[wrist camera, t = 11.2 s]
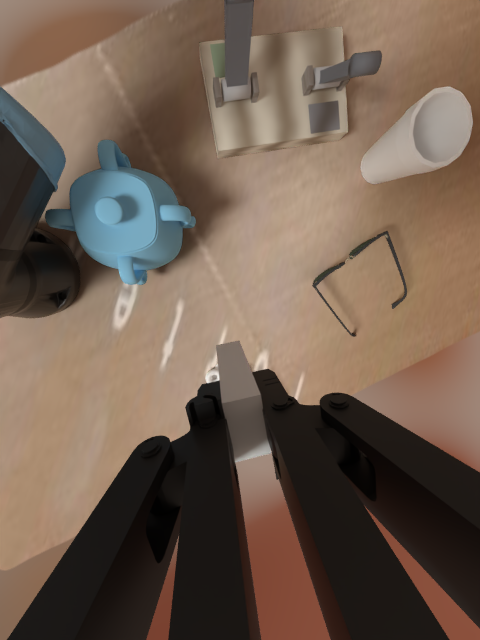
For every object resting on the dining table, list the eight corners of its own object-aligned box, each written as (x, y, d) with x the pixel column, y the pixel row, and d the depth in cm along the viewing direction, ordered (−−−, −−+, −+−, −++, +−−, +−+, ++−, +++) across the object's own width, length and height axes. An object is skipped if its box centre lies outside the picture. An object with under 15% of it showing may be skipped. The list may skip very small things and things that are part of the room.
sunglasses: (342, 344, 53) (355, 352, 48) (302, 281, 49) (312, 283, 44) (404, 299, 53) (424, 303, 48) (369, 231, 48) (387, 228, 43)
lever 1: (224, 106, 37) (223, -16, 25) (221, 92, 37) (218, -34, 25) (250, 102, 37) (261, -19, 25) (246, 89, 37) (256, -38, 25)
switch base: (217, 158, 42) (219, 143, 36) (199, 58, 38) (198, 26, 33) (338, 140, 43) (356, 123, 38) (332, 43, 40) (351, 10, 35)
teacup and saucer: (200, 379, 51) (199, 388, 47) (222, 349, 50) (223, 356, 46) (234, 399, 53) (236, 410, 49) (255, 370, 52) (259, 379, 48)
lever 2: (309, 90, 38) (351, 78, 29) (310, 69, 37) (355, 49, 28) (333, 87, 39) (382, 74, 29) (335, 66, 37) (387, 45, 28)
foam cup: (407, 147, 45) (484, 103, 33) (388, 199, 47) (454, 176, 34) (362, 129, 43) (425, 74, 31) (345, 183, 45) (398, 153, 33)
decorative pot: (140, 292, 45) (113, 304, 32) (67, 221, 41) (2, 203, 28) (204, 231, 44) (204, 219, 31) (137, 153, 40) (103, 100, 27)
